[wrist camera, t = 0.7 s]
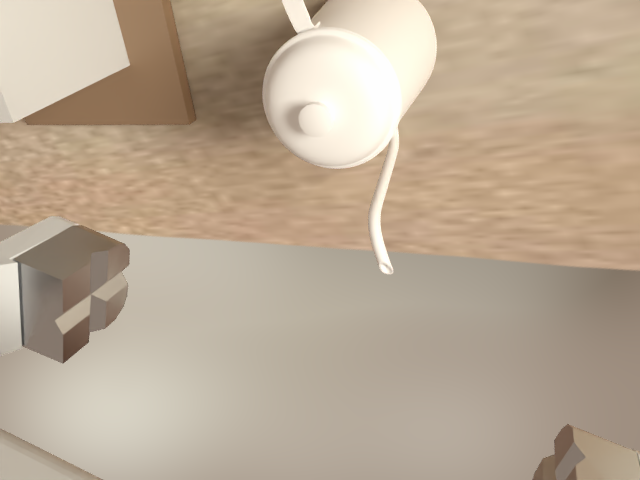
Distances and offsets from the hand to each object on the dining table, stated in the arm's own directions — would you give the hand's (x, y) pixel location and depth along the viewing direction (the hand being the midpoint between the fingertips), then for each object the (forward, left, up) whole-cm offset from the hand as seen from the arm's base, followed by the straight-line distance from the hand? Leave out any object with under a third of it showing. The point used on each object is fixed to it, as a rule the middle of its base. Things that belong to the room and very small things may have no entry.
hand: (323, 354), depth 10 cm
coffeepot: (+5, -8, -43) cm, 44 cm away
